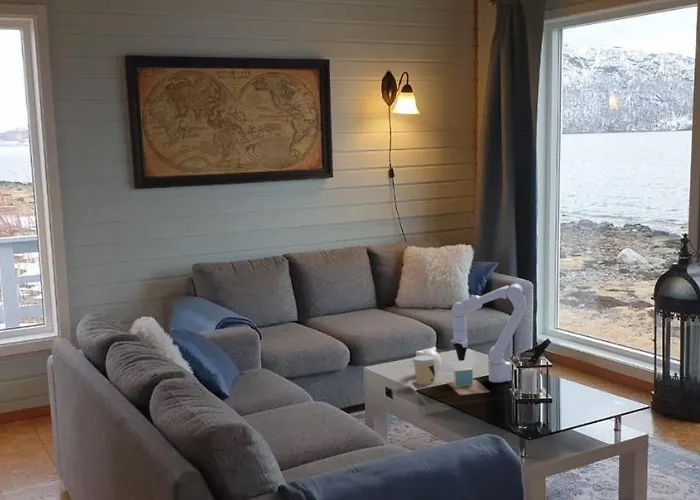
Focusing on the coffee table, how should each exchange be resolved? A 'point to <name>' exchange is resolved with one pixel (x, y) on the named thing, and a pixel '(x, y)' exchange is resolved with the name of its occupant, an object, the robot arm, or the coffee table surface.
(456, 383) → the tile
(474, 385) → the board
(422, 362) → the coffee cup
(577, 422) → the coffee table surface
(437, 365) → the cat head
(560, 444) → the coffee table surface
